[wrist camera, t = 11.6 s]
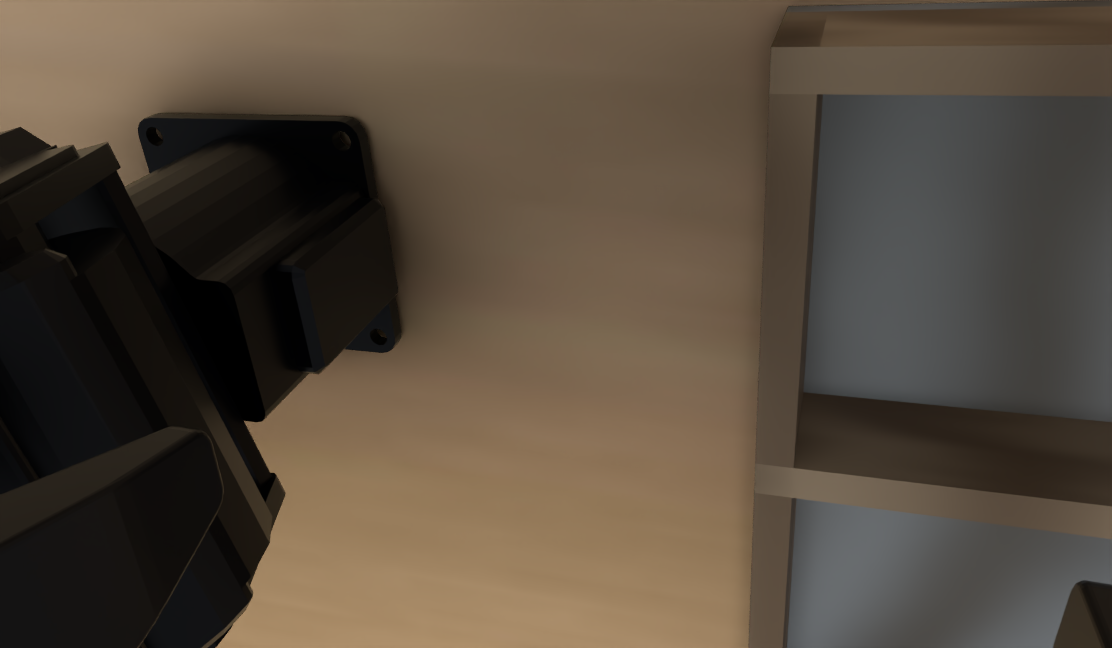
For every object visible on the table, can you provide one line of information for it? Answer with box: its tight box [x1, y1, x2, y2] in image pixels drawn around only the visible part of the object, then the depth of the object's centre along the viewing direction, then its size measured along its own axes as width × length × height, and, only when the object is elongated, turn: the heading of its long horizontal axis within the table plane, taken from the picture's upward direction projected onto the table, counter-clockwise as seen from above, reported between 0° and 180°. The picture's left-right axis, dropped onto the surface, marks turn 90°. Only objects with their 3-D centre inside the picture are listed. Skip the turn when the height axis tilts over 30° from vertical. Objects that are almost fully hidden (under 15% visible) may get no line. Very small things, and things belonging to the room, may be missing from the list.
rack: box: [749, 0, 1112, 648], centre depth 22 cm, size 10×27×4 cm, turn 4°
